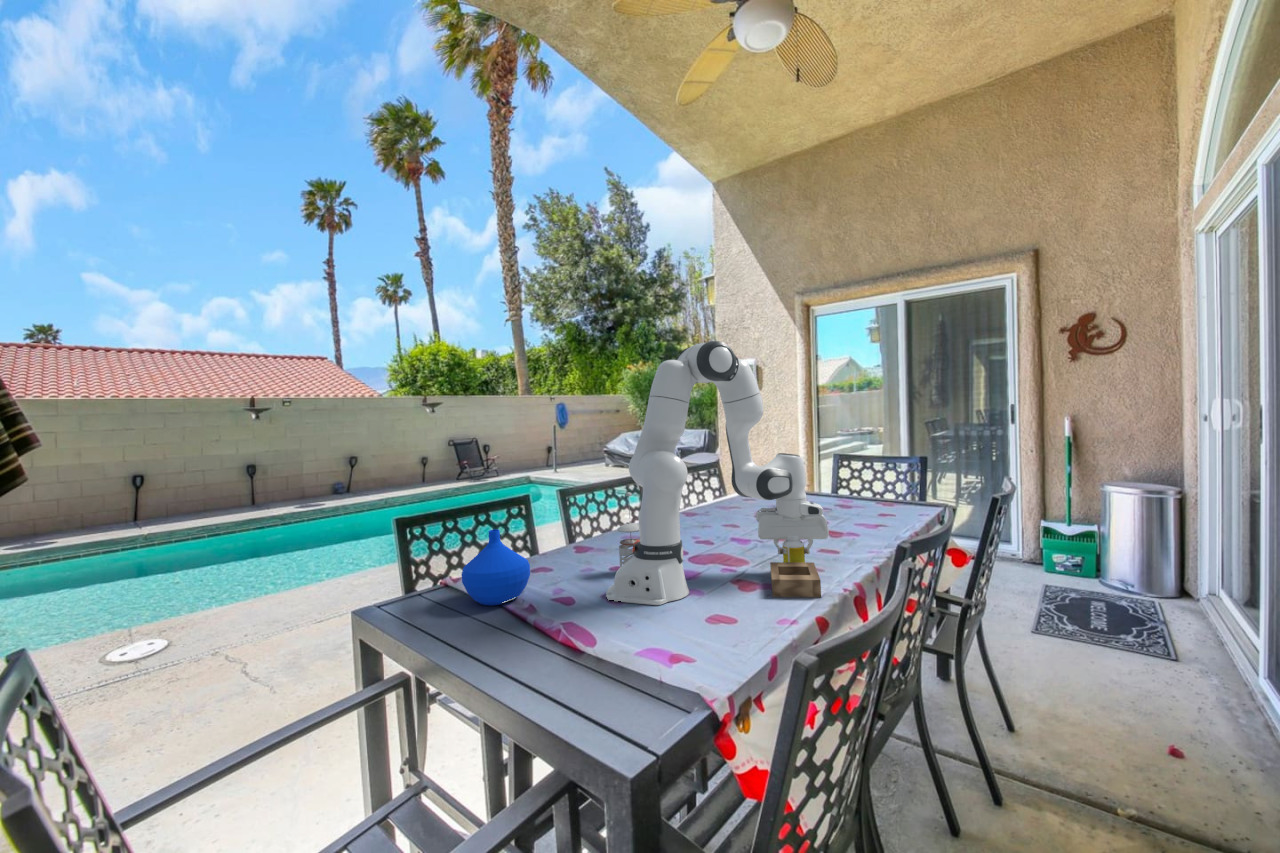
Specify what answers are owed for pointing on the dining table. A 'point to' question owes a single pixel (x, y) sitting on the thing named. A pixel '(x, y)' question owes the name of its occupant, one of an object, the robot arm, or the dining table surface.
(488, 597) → the vase
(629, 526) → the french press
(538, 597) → the dining table surface
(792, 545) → the pill bottle
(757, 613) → the dining table surface
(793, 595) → the box
